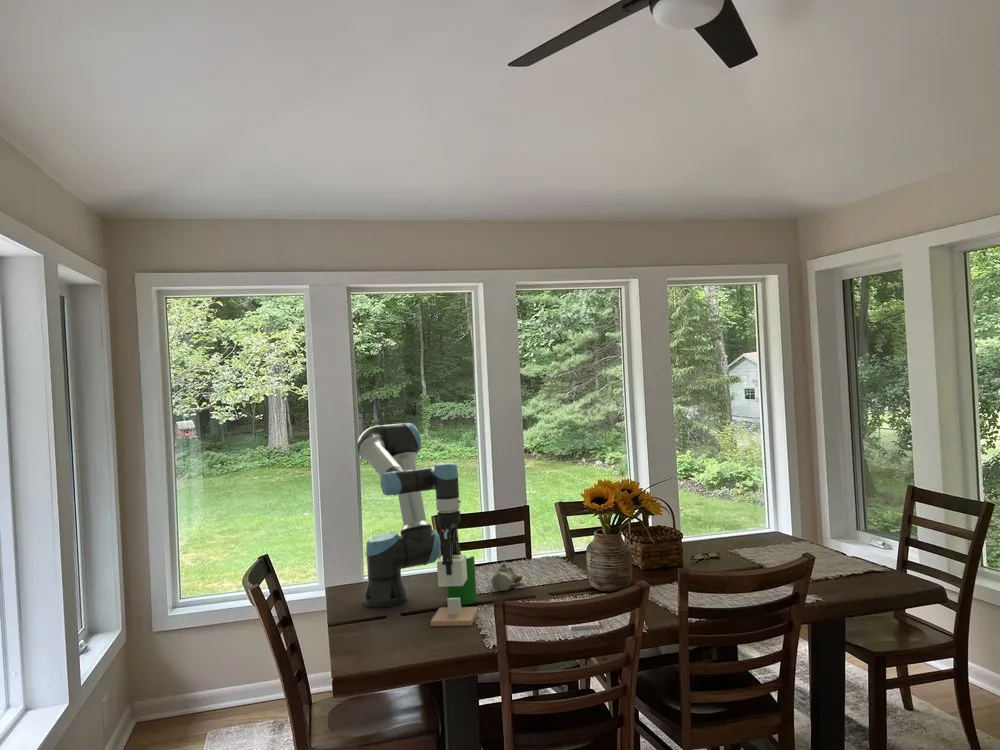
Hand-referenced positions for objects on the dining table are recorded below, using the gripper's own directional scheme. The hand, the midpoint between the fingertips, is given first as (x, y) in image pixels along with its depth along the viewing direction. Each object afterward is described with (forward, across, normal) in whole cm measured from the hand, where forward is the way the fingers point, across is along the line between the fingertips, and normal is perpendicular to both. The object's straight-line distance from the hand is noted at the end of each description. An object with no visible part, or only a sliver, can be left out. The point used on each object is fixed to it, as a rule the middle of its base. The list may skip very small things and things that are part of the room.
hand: (453, 580), depth 232 cm
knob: (+1, 0, 0) cm, 1 cm away
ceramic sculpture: (+13, +34, -12) cm, 38 cm away
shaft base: (+12, 0, 0) cm, 12 cm away
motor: (+13, +17, +1) cm, 21 cm away
